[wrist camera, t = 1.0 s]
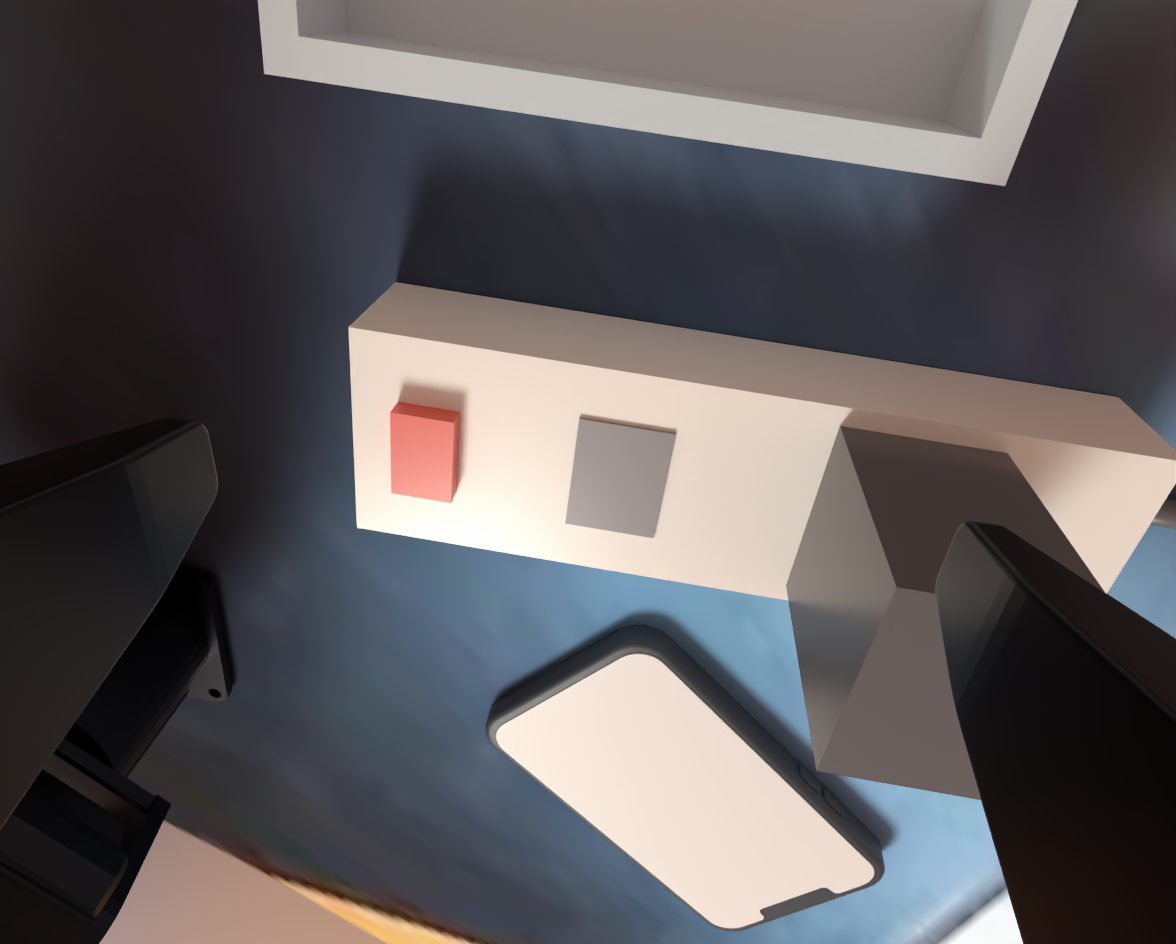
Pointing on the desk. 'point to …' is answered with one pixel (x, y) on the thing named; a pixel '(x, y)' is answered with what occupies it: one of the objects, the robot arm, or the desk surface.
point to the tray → (709, 68)
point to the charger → (896, 600)
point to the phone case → (684, 781)
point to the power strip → (689, 439)
